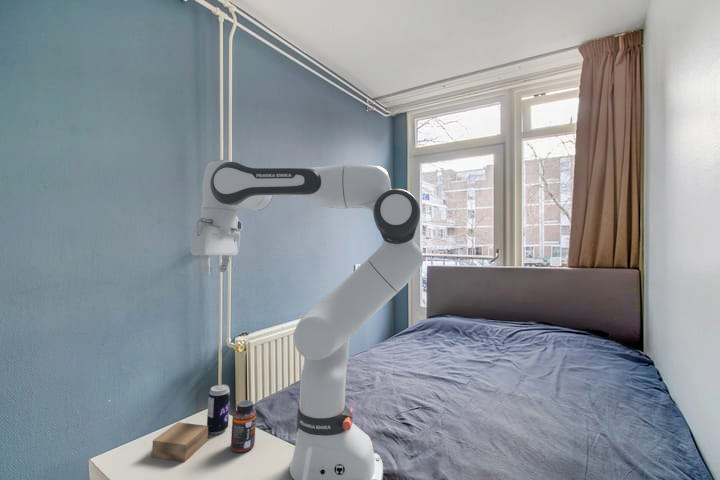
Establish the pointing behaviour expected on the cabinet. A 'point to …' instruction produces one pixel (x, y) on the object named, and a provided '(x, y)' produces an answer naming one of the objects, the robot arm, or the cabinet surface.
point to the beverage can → (218, 409)
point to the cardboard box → (180, 441)
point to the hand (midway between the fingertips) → (215, 272)
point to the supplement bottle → (243, 427)
